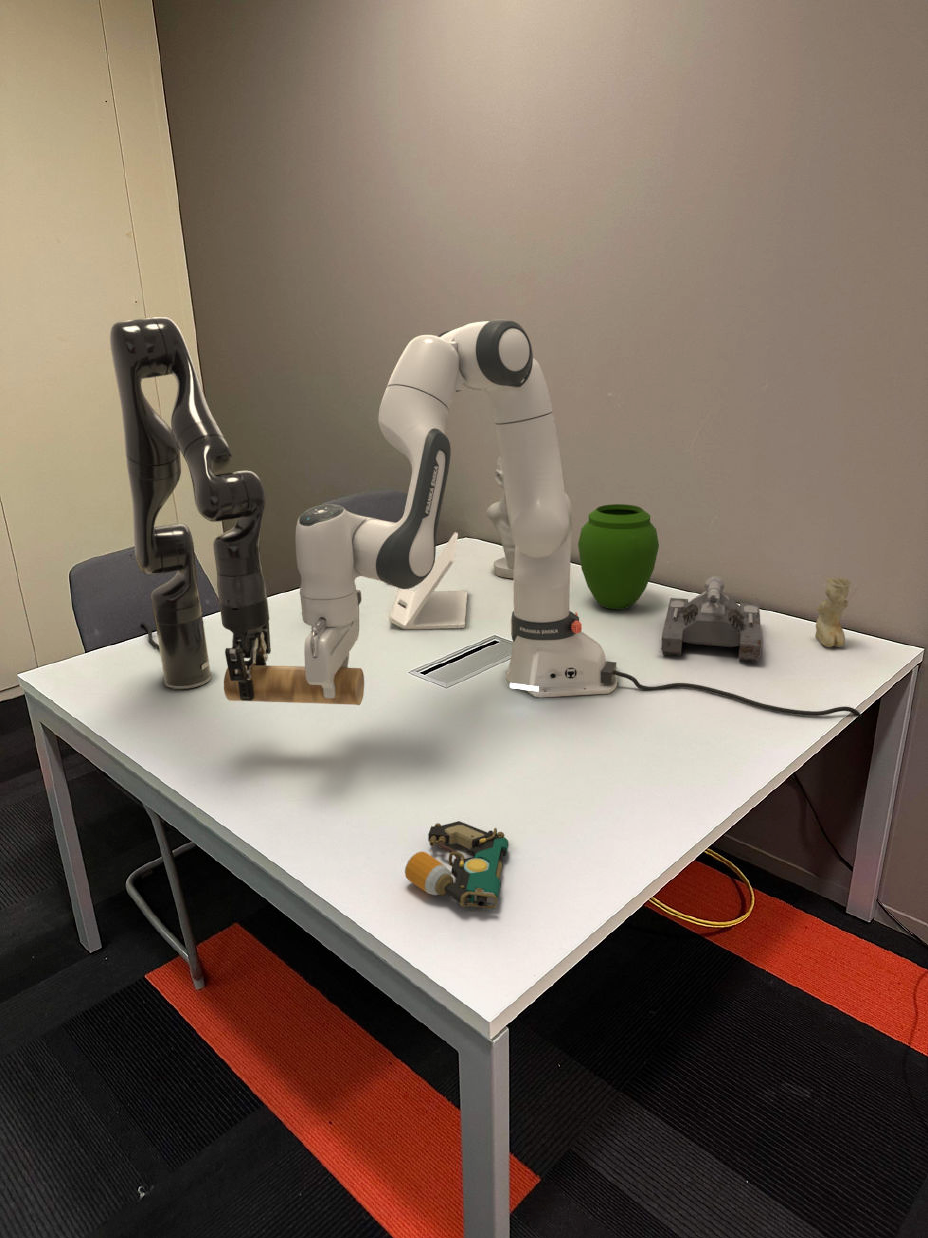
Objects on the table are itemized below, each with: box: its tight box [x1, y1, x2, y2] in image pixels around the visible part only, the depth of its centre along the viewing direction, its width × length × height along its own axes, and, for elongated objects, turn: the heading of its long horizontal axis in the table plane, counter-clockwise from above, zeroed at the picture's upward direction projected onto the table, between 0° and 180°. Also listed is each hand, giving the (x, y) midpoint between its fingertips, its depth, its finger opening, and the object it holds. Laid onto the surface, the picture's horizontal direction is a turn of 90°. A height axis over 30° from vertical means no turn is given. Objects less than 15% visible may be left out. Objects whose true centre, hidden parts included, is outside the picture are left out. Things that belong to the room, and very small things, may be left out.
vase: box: [577, 503, 660, 610], centre depth 210 cm, size 20×20×24 cm
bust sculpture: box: [485, 456, 515, 579], centre depth 231 cm, size 16×24×35 cm
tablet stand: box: [388, 531, 468, 630], centre depth 211 cm, size 18×25×17 cm
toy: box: [660, 575, 762, 662], centre depth 188 cm, size 25×20×15 cm
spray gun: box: [404, 820, 509, 909], centre depth 116 cm, size 4×17×15 cm
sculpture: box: [814, 576, 852, 648], centre depth 185 cm, size 6×7×15 cm
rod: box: [223, 664, 365, 706], centre depth 142 cm, size 22×6×6 cm, turn 83°
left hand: (254, 690), depth 143 cm, fingers closed on rod, 6 cm apart
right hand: (336, 686), depth 141 cm, fingers closed on rod, 6 cm apart
